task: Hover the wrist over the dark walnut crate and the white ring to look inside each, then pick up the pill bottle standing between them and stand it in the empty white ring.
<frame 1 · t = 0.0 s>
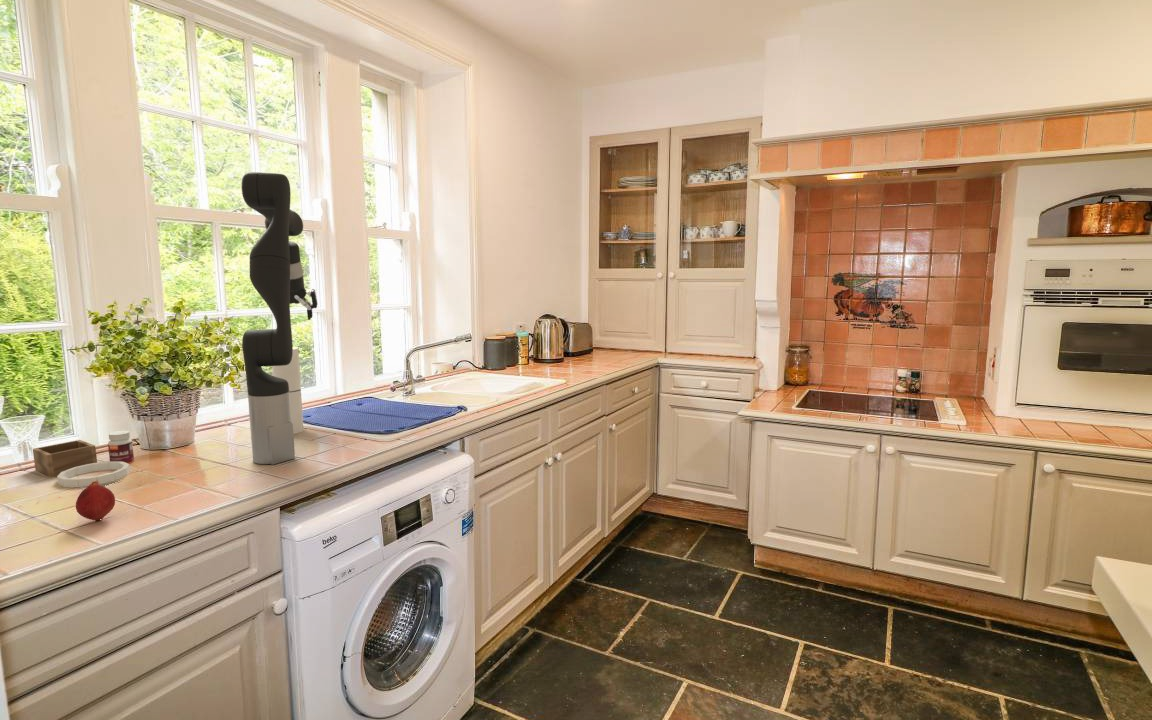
hand: (295, 319, 200), 31 cm above the countertop, tool tilted 20°, fingers open, 8 cm apart
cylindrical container: (290, 431, 177), on the countertop
walnut crate: (67, 471, 141), on the countertop
onion: (98, 521, 113), on the countertop
white ring: (95, 480, 135), on the countertop
pill bottle: (122, 466, 146), on the countertop
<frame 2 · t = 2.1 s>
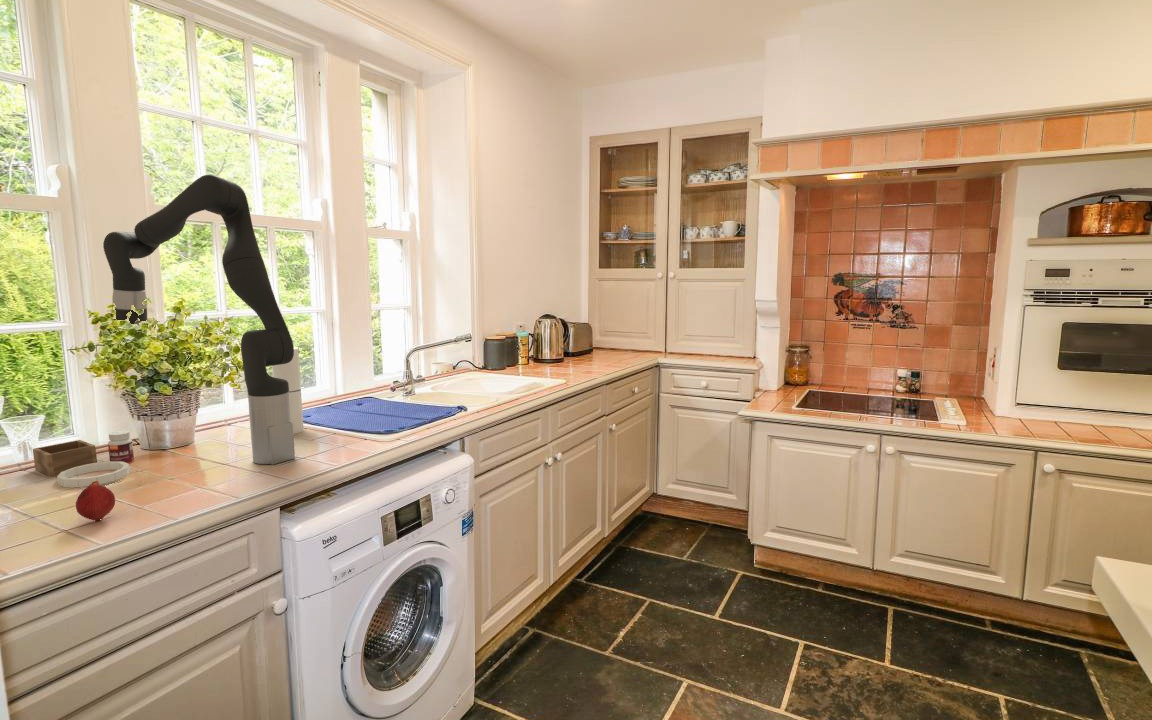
hand: (132, 363, 165), 22 cm above the countertop, tool pointing down, fingers open, 8 cm apart
nothing on the countertop moved.
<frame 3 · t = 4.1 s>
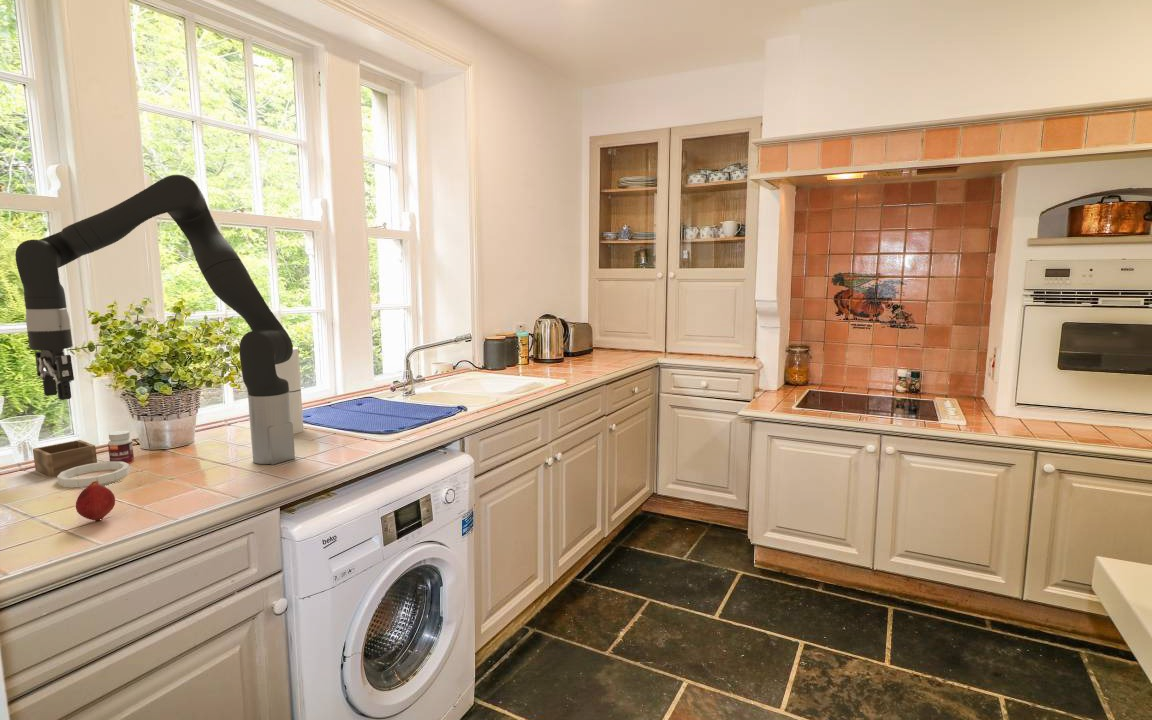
hand: (57, 397, 138), 18 cm above the countertop, tool pointing down, fingers open, 8 cm apart
nothing on the countertop moved.
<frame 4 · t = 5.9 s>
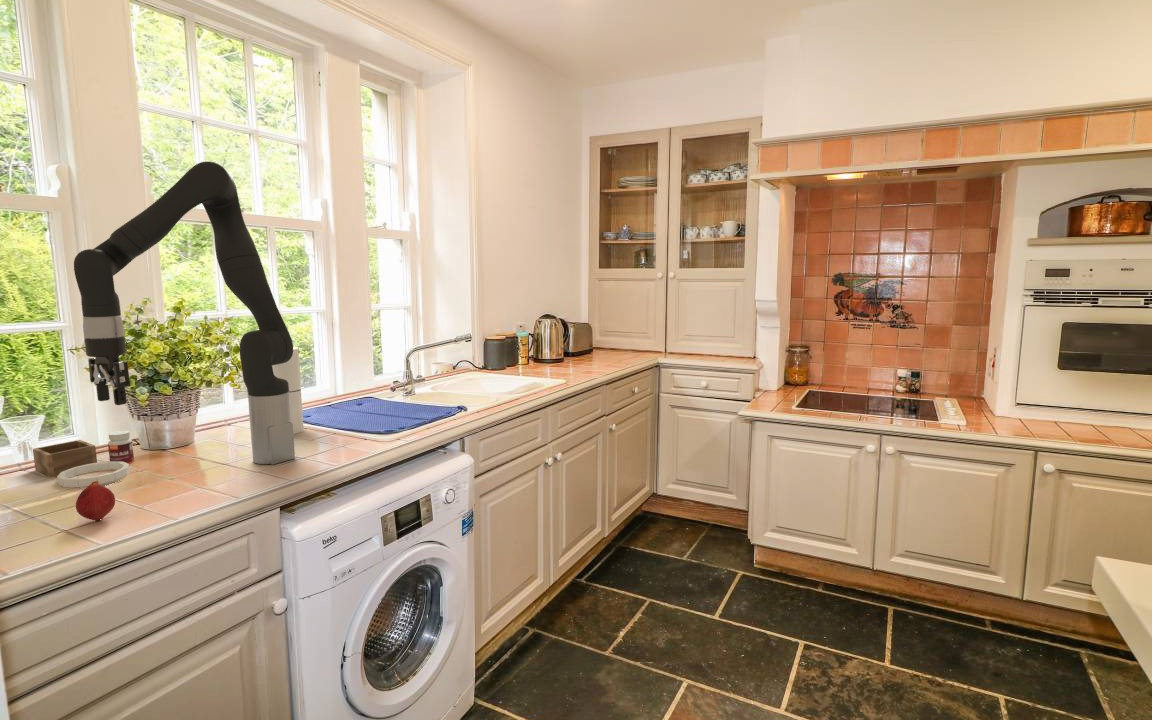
hand: (112, 402, 142), 16 cm above the countertop, tool pointing down, fingers open, 8 cm apart
nothing on the countertop moved.
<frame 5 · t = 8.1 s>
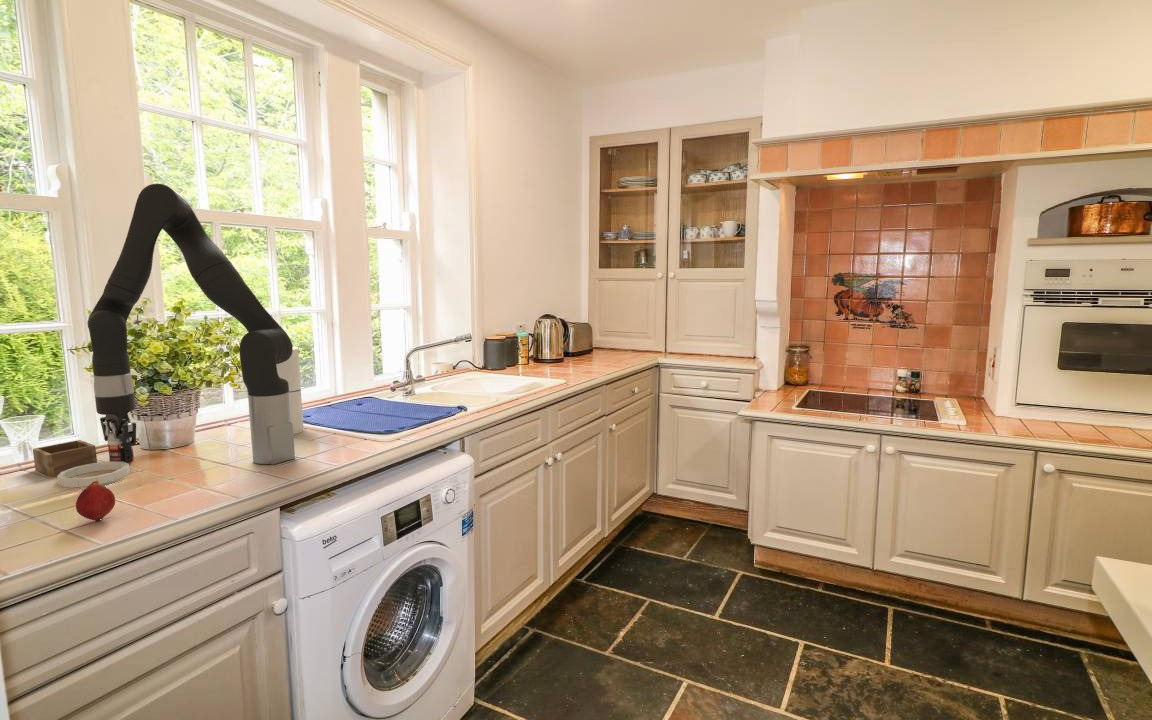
hand: (122, 460, 145), 1 cm above the countertop, tool pointing down, fingers closed on pill bottle, 4 cm apart
pill bottle: (122, 466, 146), on the countertop, touching gripper
everything else where it was.
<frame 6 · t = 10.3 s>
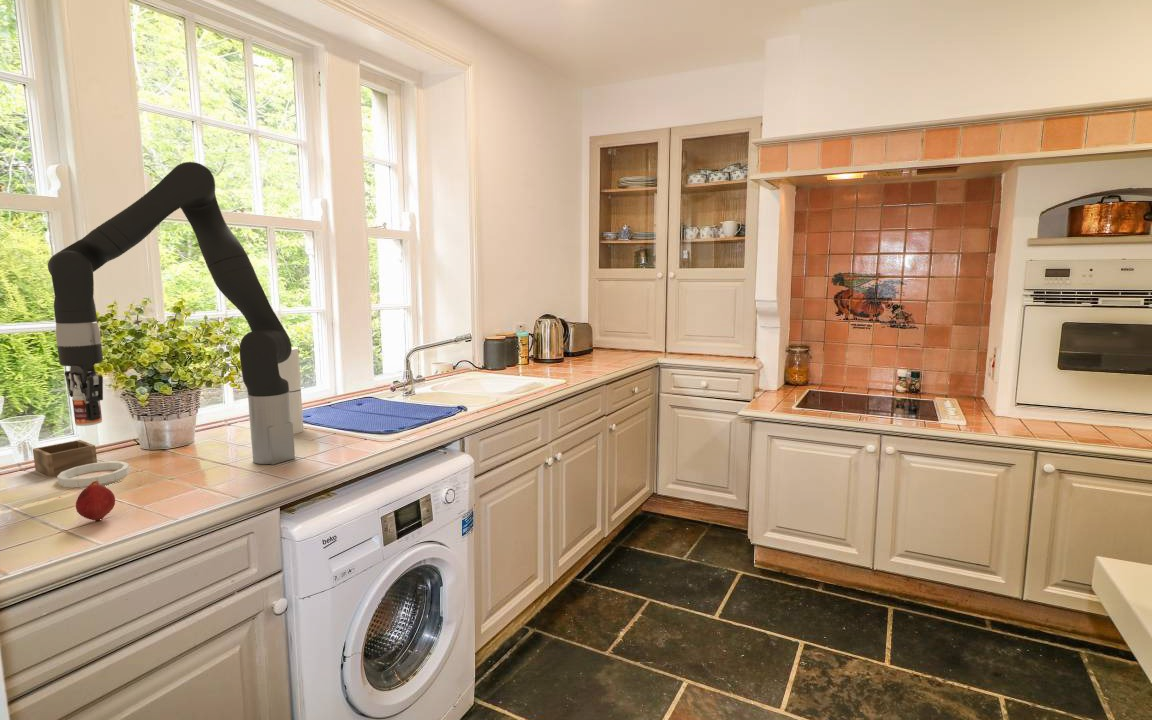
hand: (88, 417, 133), 15 cm above the countertop, tool pointing down, fingers closed on pill bottle, 4 cm apart
pill bottle: (89, 424, 133), point 13 cm above the countertop, touching gripper
everything else where it was.
when the fingers open (4 cm above the countertop, at t = 12.6 s): pill bottle drops 2 cm, resting on white ring.
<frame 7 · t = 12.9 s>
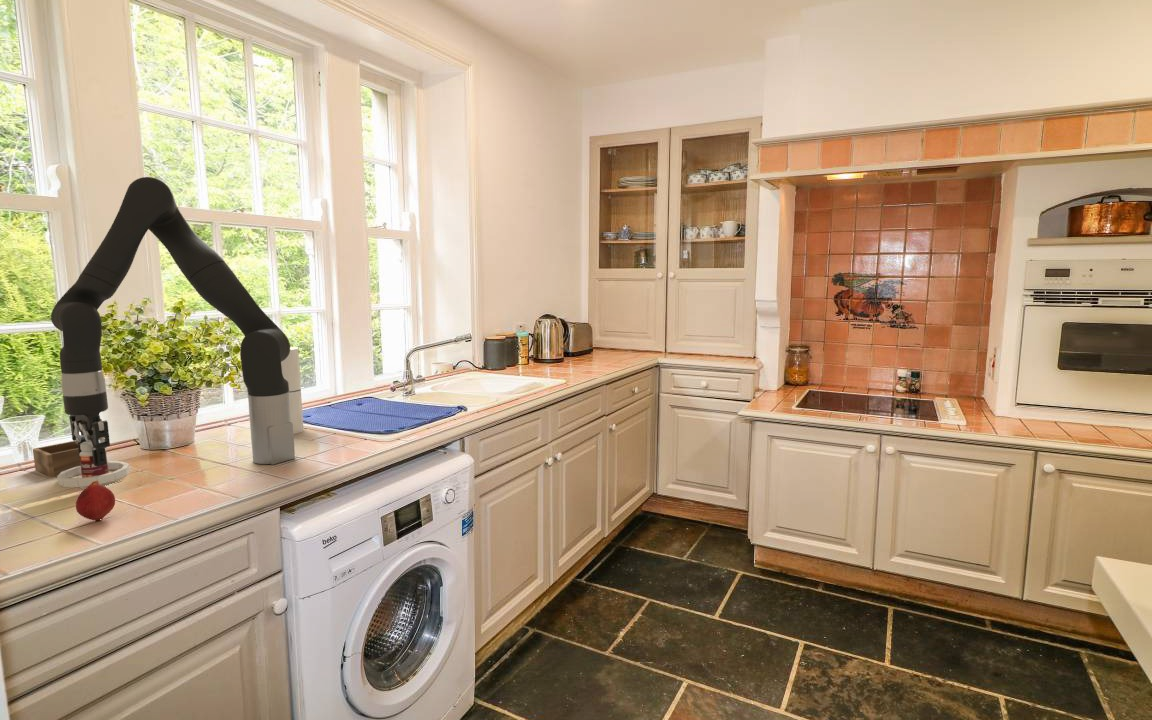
hand: (93, 462, 135), 4 cm above the countertop, tool pointing down, fingers open, 7 cm apart
pill bottle: (96, 478, 135), resting on white ring
everything else where it was.
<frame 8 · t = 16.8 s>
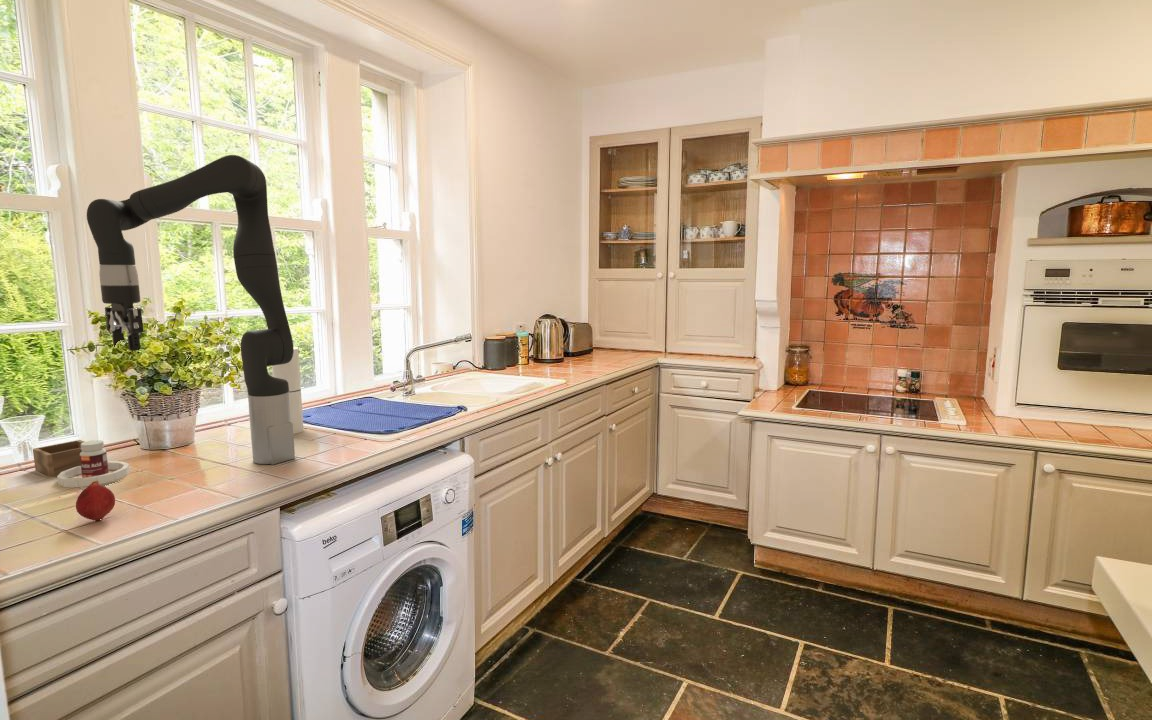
hand: (126, 349, 148), 28 cm above the countertop, tool pointing down, fingers open, 8 cm apart
nothing on the countertop moved.
at the end: pill bottle 0.2 cm from the white ring (horizontally); pill bottle tilted 1°; pill bottle resting on white ring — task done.
